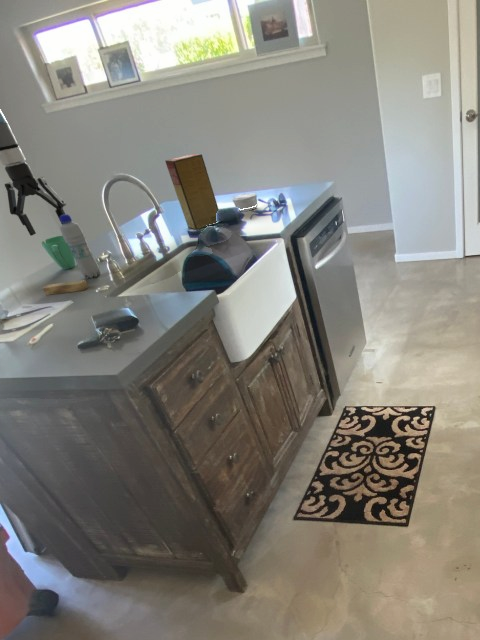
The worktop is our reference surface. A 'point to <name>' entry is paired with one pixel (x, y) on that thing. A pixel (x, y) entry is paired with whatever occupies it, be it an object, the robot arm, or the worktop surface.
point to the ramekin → (245, 201)
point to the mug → (59, 252)
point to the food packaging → (193, 190)
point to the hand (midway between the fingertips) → (50, 232)
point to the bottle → (79, 247)
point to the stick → (65, 287)
